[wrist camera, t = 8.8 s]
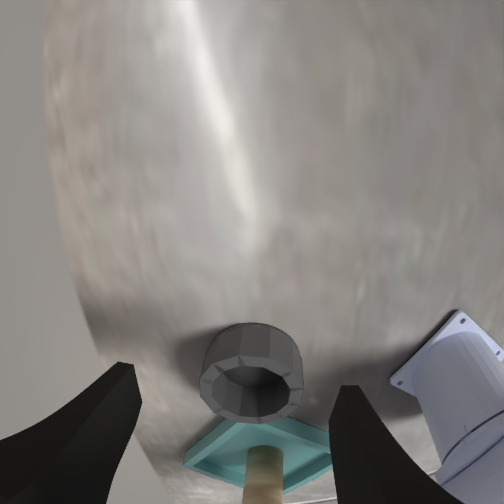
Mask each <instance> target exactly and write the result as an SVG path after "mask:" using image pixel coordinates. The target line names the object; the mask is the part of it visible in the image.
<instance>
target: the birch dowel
mask: <svg viewBox="0 0 504 504" xmlns="http://www.w3.org/2000/svg"><path fill="white" fill-rule="evenodd" d="M283 457H284V454H283V451H282V450H281V449H279V448H277V447H274V446H267V445H262V446H256V447H253V448H251V449H250V450H249V451H248V454H247V463H246V473H245V482H244V491H243V500H242V504H282V498H283Z"/></svg>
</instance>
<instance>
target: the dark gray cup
mask: <svg viewBox="0 0 504 504" xmlns="http://www.w3.org/2000/svg"><path fill="white" fill-rule="evenodd" d="M199 382H200V397H201V398H202V399H203V400H204V402H205V403H206V404H207V405H208V406H209V407H210V408H211V410H212V411H213V412H214V413H216V414H218V415H221V416H223V417H225V418H227V419H229V420H232V421H234V422H238V423H249V424H265V423H269V422H273V421H276V420H280V419H284V418H285V417H286V416H288V415H289V414H290V413H291V412H293V411H294V410H295V409H296V408H297V407H299V406H300V402H301V398H302V394H303V390H304V382H303V369H302V358H301V356H300V353H299V350H298V347H297V345H296V343H295V342H294V340H293V339H292V338H291V337H290V336H289V335H287V334H286V333H285V332H283V331H282V330H280V329H278V328H276V327H273V326H270V325H267V324H262V323H243V324H238V325H234V326H231V327H229V328H227V329H225V330H223V331H222V332H221V333H219V334H218V335H217V336H216V337H215V339H214V340H213V342H212V344H211V346H210V348H209V349H208V350H207V354H206V357H205V361H204V364H203V368H202V371H201V375H200V378H199Z"/></svg>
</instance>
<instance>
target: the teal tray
mask: <svg viewBox="0 0 504 504" xmlns="http://www.w3.org/2000/svg"><path fill="white" fill-rule="evenodd" d="M262 445H267V446H274V447H277V448H279V449H281V450H282V451H283V454H284V457H283V495H284V494H286V493H288V492H290V491H292V490H294V489H296V488H298V487H300V486H302V485H304V484H306V483H308V482H310V481H311V480H313V479H315V478H317V477H319V476H321V475H322V474H324V473H326V472H328V471H329V470H331V469H333V466H332V459H331V453H330V446H329V433H328V432H325V431H322V430H320V429H317V428H315V427H312V426H309V425H307V424H304V423H302V422H299V421H297V420H294V419H292V418H290V417H287V416H286V417H285V418H284V419H280V420H276V421H273V422H269V423H265V424H249V423H238V422H234V421H232V420H229V419H227V418H226V419H224V420H223V421H222V422H221V423H220V424H219V425H218V426H216V427H215V428H214V429H213V430H212V431H211V432H209V433H208V434H207V435H206V436H205V437H204V438H202V439H201V440H200V441H199V442H198V443H196V444H195V445H194V446H193V447H192V448H190V449H189V450H188V451H187V452H185V456H184V460H183V464H182V466H184V467H187V468H189V469H191V470H194V471H196V472H199V473H202V474H204V475H207V476H210V477H212V478H215V479H218V480H221V481H224V482H227V483H230V484H233V485H236V486H239V487H242V488H244V482H245V473H246V463H247V454H248V451H249V450H250V449H251V448H253V447H256V446H262Z"/></svg>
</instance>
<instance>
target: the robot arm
mask: <svg viewBox="0 0 504 504" xmlns="http://www.w3.org/2000/svg"><path fill="white" fill-rule="evenodd" d="M461 319H463V320H461ZM503 359H504V350H503V349H502V348H501V347H500V346H499V345H498V344H497V343H496V342H495V341H494V340H493V339H492V338H490V337H489V336H488V335H487V334H486V333H485V332H484V331H483V330H482V329H481V328H480V327H479V326H478V325H477V324H476V323H475V322H474V321H473V320H472V319H471V318H469V317H468V316H467V315H466V314H465V313H464V312H463V311H462V310H458V311H456V312H455V313H454V314H453V315H452V316H451V317H450V319H449V320H448V321H447V322H446V323H445V324H444V325H443V326H442V327H441V328H440V329H439V330H438V332H437V333H436V334H435V335H434V336H433V337H432V338H431V339H430V340H429V341H428V342H427V343H426V344H425V345H424V346H423V347H422V348H421V349H420V350H419V351H418V352H417V353H416V354H415V355H414V356H413V357H412V358H411V359H410V360H409V361H408V362H407V363H405V364H404V365H403V366H402V367H401V368H400V369H399V370H398V371H397V372H396V373H395V374H394V375H392V376H391V378H390V383H391V385H393V386H395V387H397V388H399V389H401V390H403V391H405V392H407V393H409V394H411V395H413V396H415V397H417V399H418V401H419V404H420V407H421V409H422V412H423V414H424V417H425V419H426V422H427V425H428V427H429V430H430V433H431V435H432V438H433V441H434V444H435V447H436V449H437V452H438V455H439V458H440V461H441V464H442V466H441V467H440V468H439V469H438V470H437V471H436V472H435V476H436V480H437V483H438V484H437V483H436V482H435V481H434V480H432V479H431V478H430V477H429V476H428V475H427V474H426V473H425V472H424V471H423V470H422V469H421V468H420V467H419V466H418V465H417V464H416V463H415V462H414V461H413V460H412V459H411V458H410V457H409V455H408V454H407V453H406V452H405V451H404V450H403V448H402V447H401V446H400V445H399V443H398V442H397V441H396V440H395V438H394V437H393V436H392V434H391V433H390V432H389V430H388V429H387V427H386V426H385V425H384V423H383V422H382V421H381V419H380V418H379V416H378V415H377V413H376V412H375V410H374V409H373V407H372V406H371V404H370V402H369V401H368V399H367V398H366V396H365V395H364V393H363V391H362V390H361V388H360V387H359V386H358V385H341V388H340V391H339V394H338V397H337V400H336V403H335V406H334V408H333V411H332V414H331V417H330V419H329V446H330V453H331V459H332V466H333V472H334V479H335V486H336V492H337V501H338V504H504V366H503V365H502V364H501V361H502V360H503ZM399 381H400V382H399ZM141 405H142V399H141V395H140V391H139V387H138V382H137V378H136V374H135V369H134V365H133V364H128V363H123V362H117V363H116V364H115V365H113V366H112V367H111V368H110V369H109V370H108V371H106V372H105V373H104V374H103V375H102V376H101V377H99V378H98V379H97V380H96V381H95V382H94V383H92V384H91V385H90V386H89V387H88V388H86V389H85V390H84V391H83V392H81V393H80V394H79V395H78V396H77V397H75V398H74V399H73V400H71V401H70V402H69V403H67V404H66V405H64V406H63V407H62V408H61V409H59V410H58V411H56V412H55V413H53V414H52V415H50V416H49V417H47V418H45V419H44V420H42V421H40V422H38V423H37V424H35V425H33V426H31V427H29V428H27V429H25V430H23V431H21V432H19V433H17V434H14V435H12V436H10V437H7V438H5V439H2V440H0V504H106V502H107V498H108V494H109V491H110V487H111V484H112V480H113V477H114V474H115V472H116V469H117V467H118V464H119V462H120V460H121V458H122V455H123V453H124V451H125V449H126V446H127V444H128V442H129V439H130V437H131V435H132V433H133V430H134V428H135V426H136V423H137V419H138V416H139V412H140V409H141Z"/></svg>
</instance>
